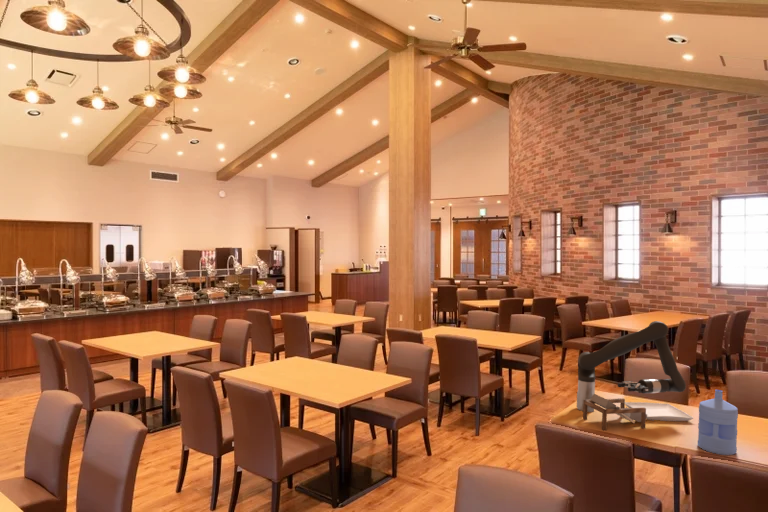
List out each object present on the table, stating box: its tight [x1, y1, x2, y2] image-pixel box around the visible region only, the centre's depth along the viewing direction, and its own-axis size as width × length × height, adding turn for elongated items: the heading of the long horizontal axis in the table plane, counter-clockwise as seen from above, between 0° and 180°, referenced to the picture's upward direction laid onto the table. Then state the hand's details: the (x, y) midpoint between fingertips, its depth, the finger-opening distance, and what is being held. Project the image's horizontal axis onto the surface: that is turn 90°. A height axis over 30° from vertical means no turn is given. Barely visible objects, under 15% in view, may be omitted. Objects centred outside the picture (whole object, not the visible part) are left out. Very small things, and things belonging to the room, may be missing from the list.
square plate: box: [625, 401, 695, 422], centre depth 299 cm, size 27×27×4 cm
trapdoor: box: [591, 393, 636, 424], centre depth 282 cm, size 20×14×4 cm
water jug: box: [697, 389, 739, 456], centre depth 248 cm, size 16×16×28 cm
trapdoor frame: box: [582, 397, 647, 431], centre depth 282 cm, size 24×19×12 cm
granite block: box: [624, 406, 647, 423], centre depth 285 cm, size 5×5×10 cm
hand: (623, 387), depth 283 cm, fingers open, 8 cm apart
